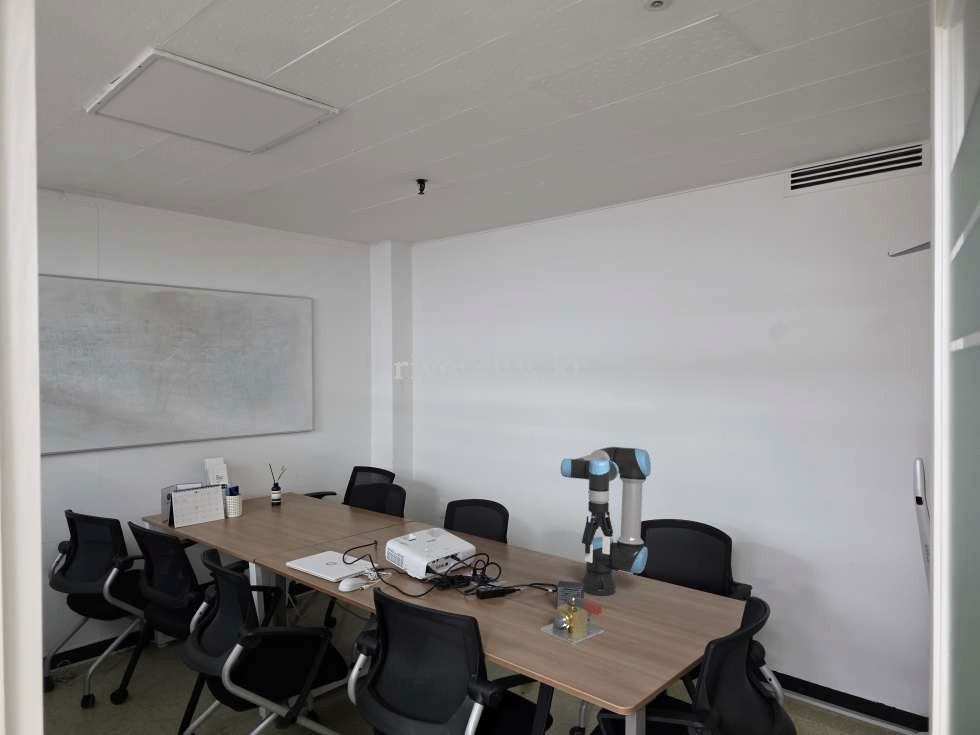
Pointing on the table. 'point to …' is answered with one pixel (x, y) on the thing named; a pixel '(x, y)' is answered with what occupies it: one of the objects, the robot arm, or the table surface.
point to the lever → (584, 604)
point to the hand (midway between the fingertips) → (597, 557)
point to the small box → (568, 591)
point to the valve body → (571, 625)
